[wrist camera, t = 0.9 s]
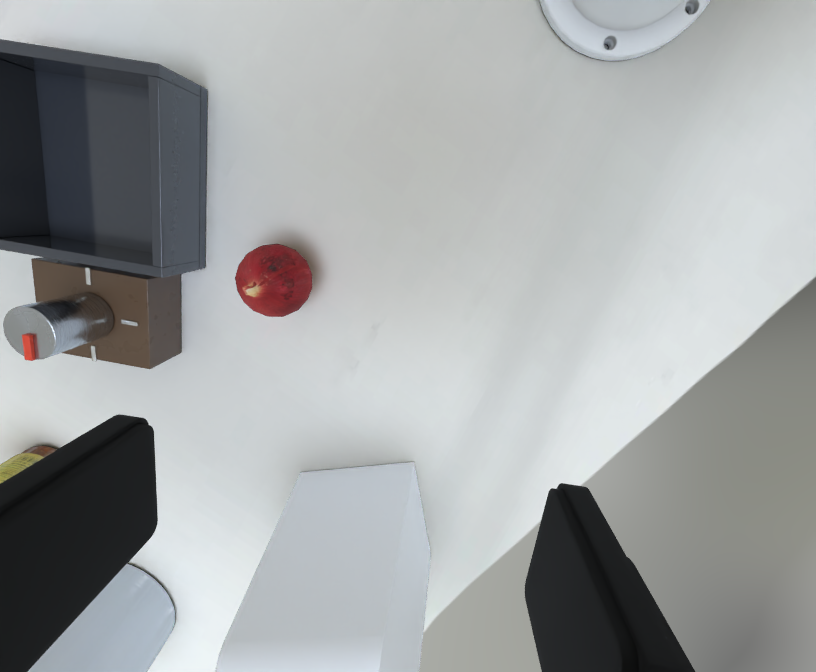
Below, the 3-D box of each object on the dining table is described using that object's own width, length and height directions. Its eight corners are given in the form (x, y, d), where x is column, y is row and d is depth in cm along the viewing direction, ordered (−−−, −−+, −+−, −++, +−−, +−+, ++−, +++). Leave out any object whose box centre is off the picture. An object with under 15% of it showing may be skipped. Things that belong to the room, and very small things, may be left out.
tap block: (77, 252, 38) (28, 257, 34) (181, 270, 38) (146, 278, 34) (83, 336, 41) (39, 350, 36) (181, 353, 40) (148, 371, 36)
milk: (414, 461, 42) (367, 830, 17) (430, 554, 45) (413, 983, 20) (300, 472, 43) (102, 824, 18) (324, 561, 46) (182, 967, 21)
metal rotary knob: (67, 288, 35) (-6, 302, 29) (113, 296, 34) (49, 312, 29) (71, 333, 36) (2, 355, 30) (115, 342, 36) (54, 365, 30)
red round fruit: (286, 227, 36) (244, 231, 28) (336, 273, 37) (307, 289, 29) (247, 275, 38) (197, 291, 30) (296, 318, 38) (258, 344, 31)
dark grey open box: (36, 62, 34) (-47, 31, 28) (207, 89, 33) (158, 63, 28) (52, 241, 38) (-17, 246, 33) (205, 268, 38) (162, 278, 32)
